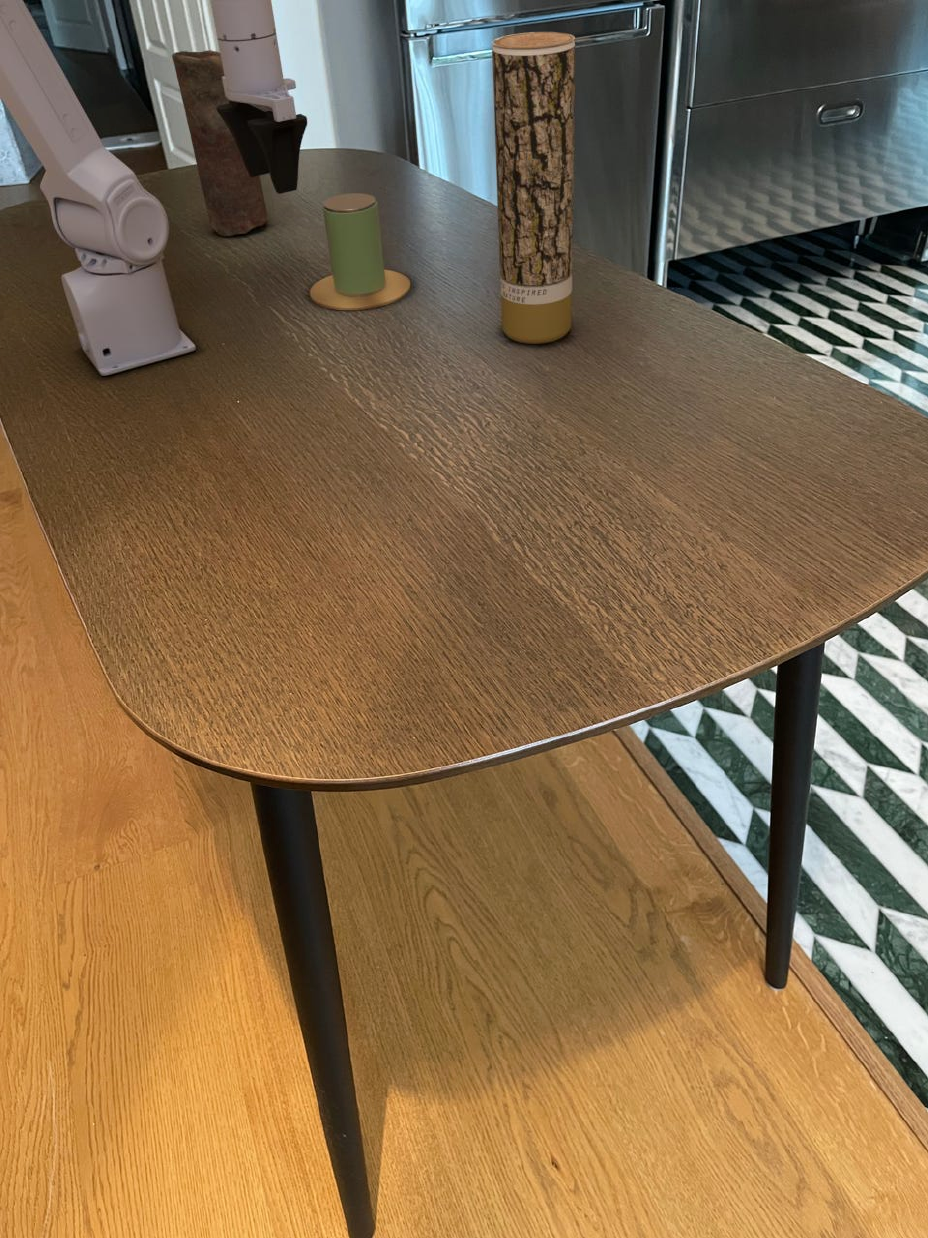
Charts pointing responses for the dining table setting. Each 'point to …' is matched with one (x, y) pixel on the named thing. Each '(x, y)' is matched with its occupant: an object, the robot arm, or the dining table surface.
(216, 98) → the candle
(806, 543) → the dining table surface
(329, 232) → the can
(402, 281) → the coaster
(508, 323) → the paper tube
